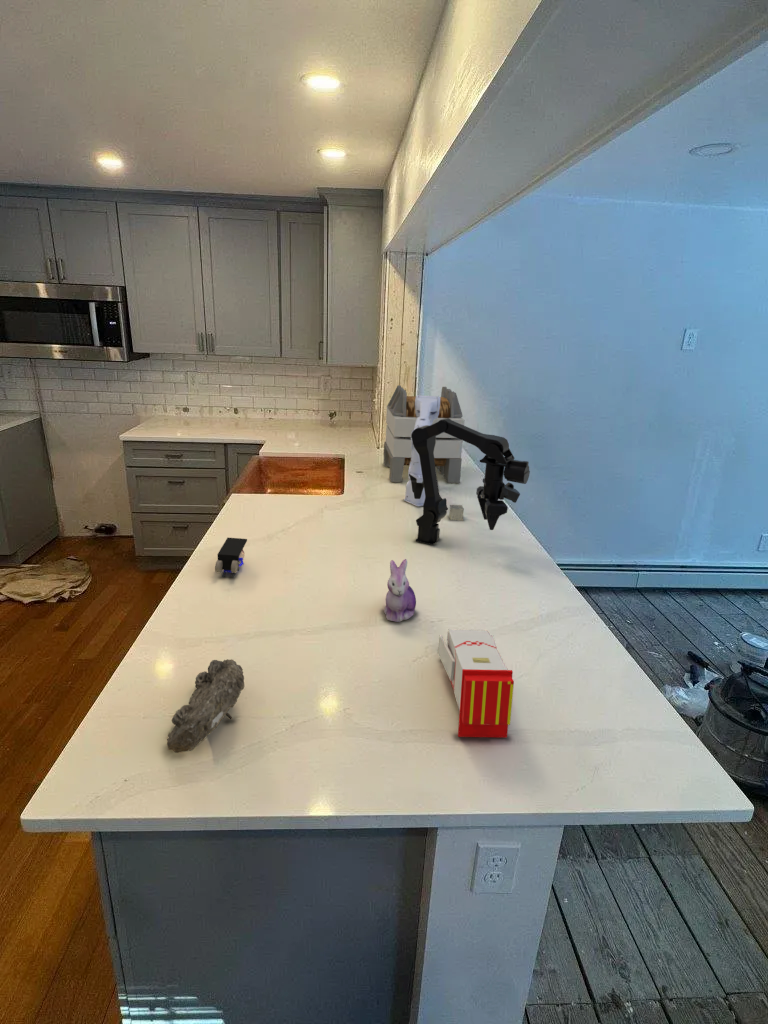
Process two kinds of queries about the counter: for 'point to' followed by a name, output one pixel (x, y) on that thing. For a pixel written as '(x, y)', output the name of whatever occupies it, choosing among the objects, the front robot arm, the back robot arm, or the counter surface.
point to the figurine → (399, 594)
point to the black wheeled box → (230, 556)
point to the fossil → (206, 705)
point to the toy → (478, 682)
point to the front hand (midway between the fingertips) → (488, 524)
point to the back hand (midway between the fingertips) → (416, 495)
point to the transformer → (403, 423)
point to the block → (456, 512)
